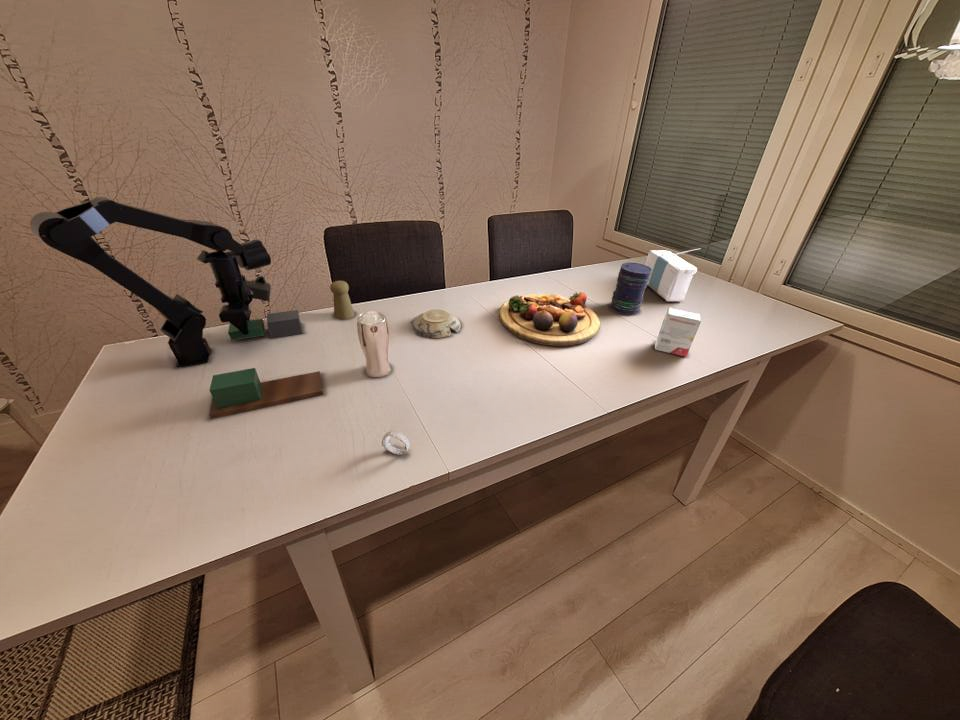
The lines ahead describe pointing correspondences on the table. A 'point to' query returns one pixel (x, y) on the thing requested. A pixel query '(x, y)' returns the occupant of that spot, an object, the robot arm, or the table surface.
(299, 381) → the shelf board
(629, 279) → the storage jar
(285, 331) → the grey book
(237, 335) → the green rectangular block
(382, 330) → the beer glass
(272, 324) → the grey book
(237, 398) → the green book
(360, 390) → the table surface
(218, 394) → the green book
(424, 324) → the decorative bowl
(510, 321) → the wooden plate
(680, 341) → the ink box
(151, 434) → the table surface
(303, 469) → the table surface
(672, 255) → the radio
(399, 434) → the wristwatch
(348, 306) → the olive green pawn
